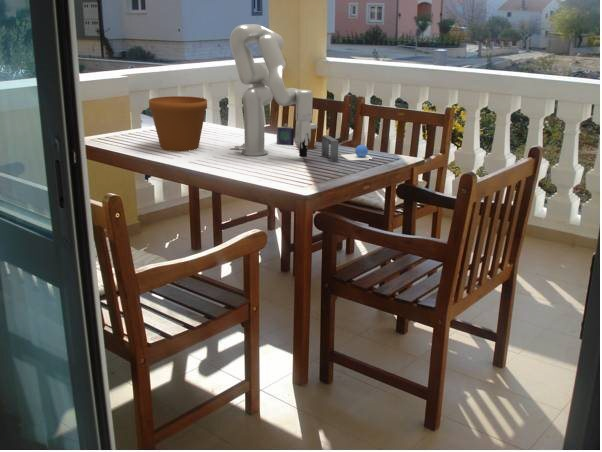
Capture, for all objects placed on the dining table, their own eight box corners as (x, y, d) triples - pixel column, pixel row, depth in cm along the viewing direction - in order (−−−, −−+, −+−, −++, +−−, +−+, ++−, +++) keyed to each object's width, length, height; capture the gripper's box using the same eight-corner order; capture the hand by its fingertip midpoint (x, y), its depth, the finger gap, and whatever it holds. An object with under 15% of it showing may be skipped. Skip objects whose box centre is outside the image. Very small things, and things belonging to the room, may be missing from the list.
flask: (276, 144, 359) (276, 123, 356) (278, 143, 361) (278, 122, 358) (292, 145, 356) (293, 124, 353) (294, 144, 359) (295, 123, 355)
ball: (371, 153, 329) (361, 160, 328) (367, 151, 334) (357, 158, 334) (366, 143, 327) (355, 150, 326) (361, 141, 332) (351, 148, 332)
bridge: (331, 162, 320) (332, 141, 317) (321, 155, 334) (321, 135, 331) (337, 161, 321) (338, 140, 318) (327, 155, 334) (327, 135, 331)
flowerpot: (140, 150, 336) (138, 101, 329) (166, 140, 362) (164, 95, 355) (194, 155, 329) (192, 105, 322) (216, 144, 355) (215, 98, 348)
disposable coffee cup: (315, 149, 347) (315, 125, 343) (296, 148, 349) (296, 124, 345) (318, 146, 356) (319, 122, 352) (300, 145, 357) (300, 121, 354)
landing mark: (349, 160, 323) (349, 160, 323) (339, 155, 335) (339, 154, 335) (375, 159, 327) (375, 159, 327) (364, 153, 339) (364, 153, 339)
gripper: (291, 115, 323) (290, 153, 329) (300, 120, 310) (300, 160, 315) (306, 114, 325) (306, 153, 331) (316, 119, 312) (315, 159, 317)
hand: (303, 156), depth 323 cm, fingers closed
